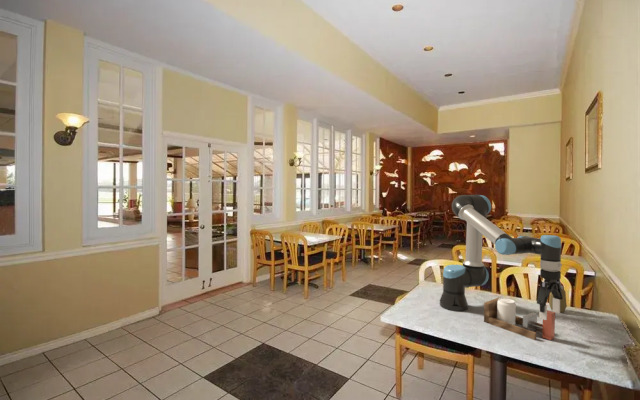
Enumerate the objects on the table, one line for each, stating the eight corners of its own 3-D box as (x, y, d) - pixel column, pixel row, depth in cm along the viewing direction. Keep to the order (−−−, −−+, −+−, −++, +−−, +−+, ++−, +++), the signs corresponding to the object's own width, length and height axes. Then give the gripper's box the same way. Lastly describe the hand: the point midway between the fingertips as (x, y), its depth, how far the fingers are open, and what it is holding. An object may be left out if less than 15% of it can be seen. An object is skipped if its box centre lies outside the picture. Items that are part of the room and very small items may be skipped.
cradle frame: (483, 321, 164) (484, 302, 164) (498, 315, 172) (498, 297, 172) (534, 339, 145) (535, 318, 144) (548, 332, 152) (548, 311, 152)
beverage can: (517, 327, 157) (518, 303, 157) (500, 326, 159) (500, 302, 158) (511, 321, 165) (512, 298, 165) (494, 319, 167) (495, 297, 166)
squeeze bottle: (551, 312, 177) (552, 280, 176) (546, 307, 184) (547, 276, 184) (568, 314, 174) (569, 281, 173) (563, 309, 181) (564, 278, 181)
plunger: (522, 333, 151) (523, 308, 150) (532, 328, 156) (532, 304, 156) (547, 342, 142) (548, 315, 142) (557, 336, 147) (558, 311, 147)
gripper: (547, 275, 135) (546, 324, 136) (571, 267, 149) (570, 312, 149) (528, 271, 141) (527, 319, 142) (552, 264, 155) (552, 307, 155)
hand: (549, 315), depth 146 cm, fingers open, 13 cm apart
